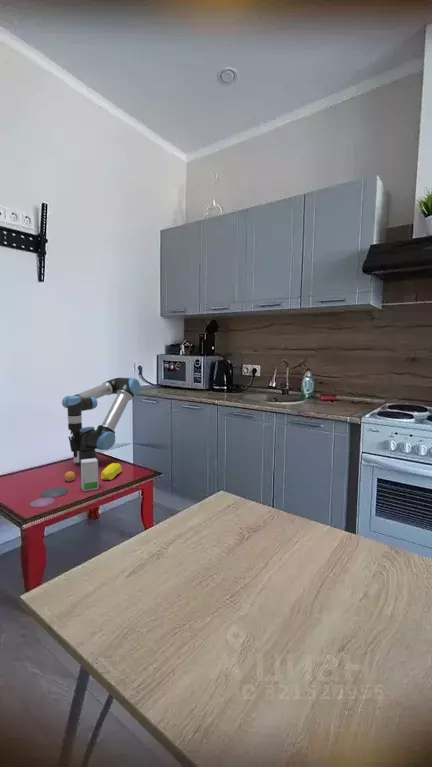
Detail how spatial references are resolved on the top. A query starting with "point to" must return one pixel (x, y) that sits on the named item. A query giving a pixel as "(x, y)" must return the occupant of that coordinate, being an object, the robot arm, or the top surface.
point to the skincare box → (89, 474)
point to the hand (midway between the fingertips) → (76, 461)
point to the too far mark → (42, 502)
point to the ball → (70, 476)
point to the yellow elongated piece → (111, 471)
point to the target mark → (54, 492)
